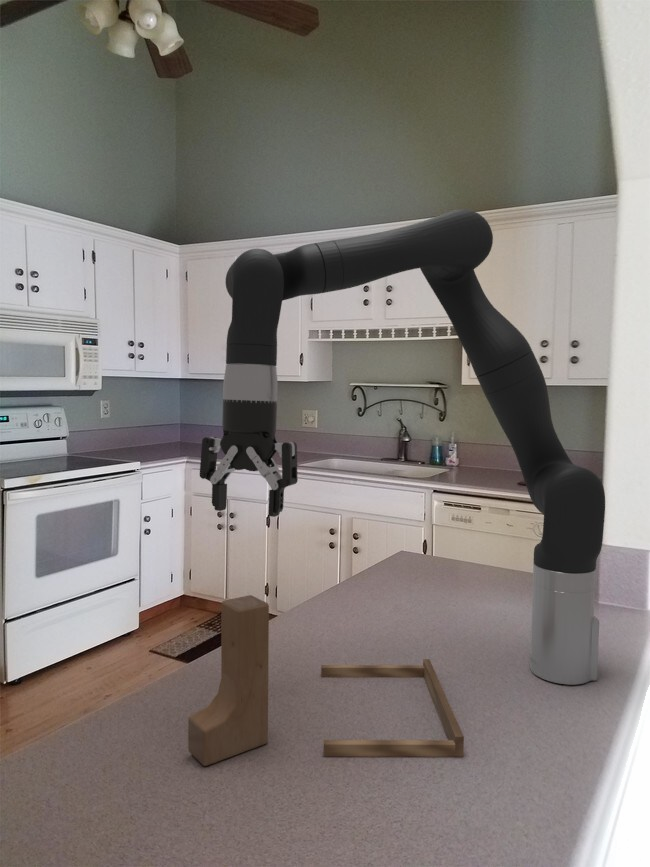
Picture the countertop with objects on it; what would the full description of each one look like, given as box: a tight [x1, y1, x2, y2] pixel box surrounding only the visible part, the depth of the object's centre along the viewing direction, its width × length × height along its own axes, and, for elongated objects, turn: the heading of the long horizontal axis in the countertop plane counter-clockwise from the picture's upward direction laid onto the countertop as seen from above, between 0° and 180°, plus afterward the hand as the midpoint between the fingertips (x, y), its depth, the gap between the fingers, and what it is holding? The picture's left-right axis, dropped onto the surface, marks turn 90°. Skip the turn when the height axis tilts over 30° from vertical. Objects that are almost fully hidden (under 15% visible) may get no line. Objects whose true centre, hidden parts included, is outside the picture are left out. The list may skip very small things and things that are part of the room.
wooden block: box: [187, 594, 270, 767], centre depth 79 cm, size 9×4×18 cm, turn 127°
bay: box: [320, 658, 465, 758], centre depth 90 cm, size 17×23×2 cm
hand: (246, 512), depth 91 cm, fingers open, 8 cm apart
